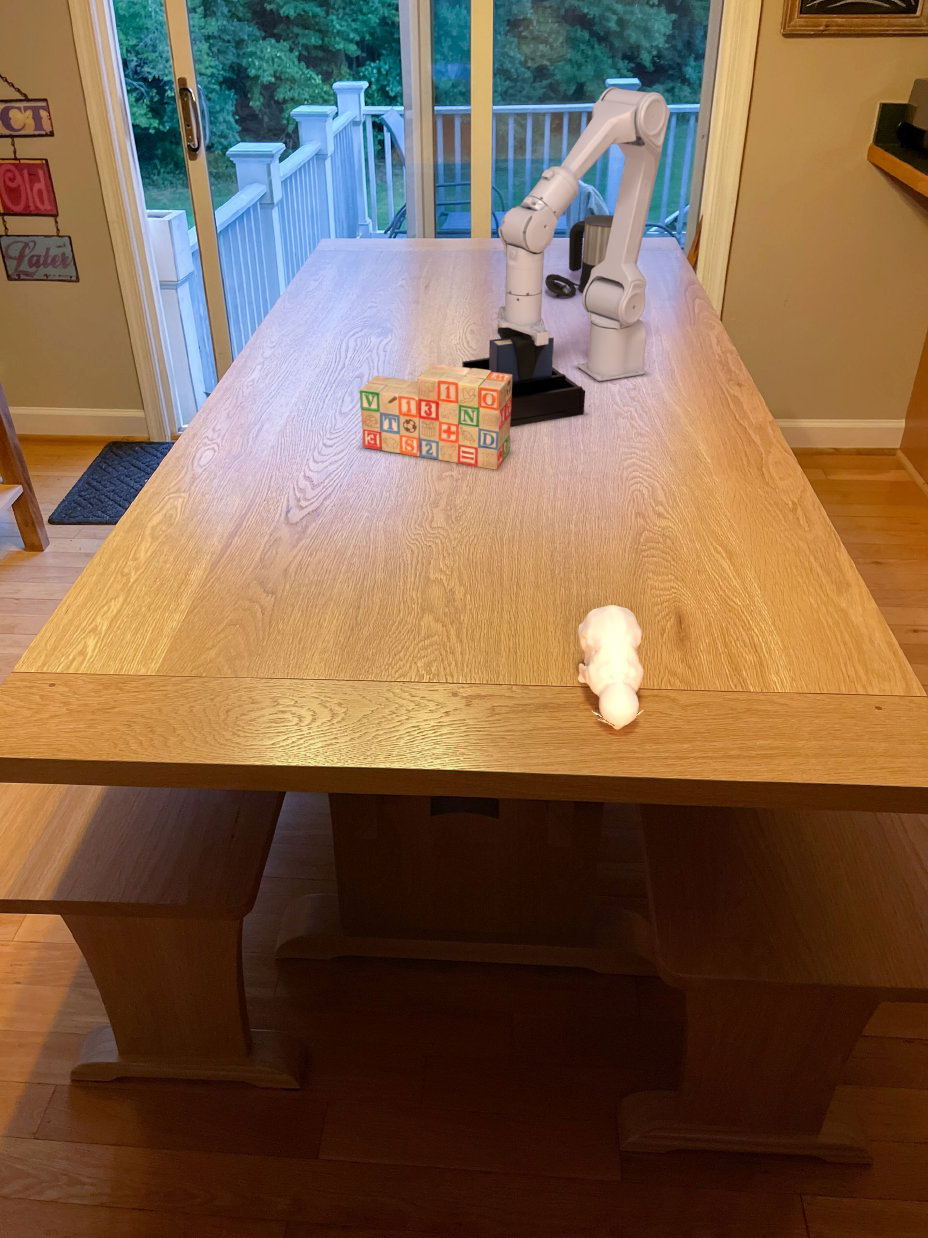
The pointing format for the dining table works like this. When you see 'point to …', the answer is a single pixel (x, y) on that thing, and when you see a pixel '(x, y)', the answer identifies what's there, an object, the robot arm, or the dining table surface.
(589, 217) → the milk frother
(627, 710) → the white animal figurine
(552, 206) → the robot arm
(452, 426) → the stack of blocks
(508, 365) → the book
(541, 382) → the rack
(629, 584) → the dining table surface
